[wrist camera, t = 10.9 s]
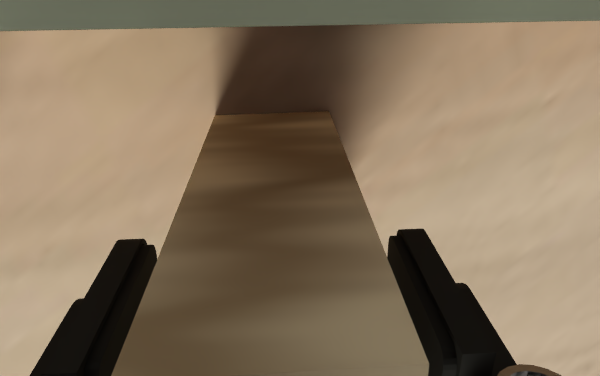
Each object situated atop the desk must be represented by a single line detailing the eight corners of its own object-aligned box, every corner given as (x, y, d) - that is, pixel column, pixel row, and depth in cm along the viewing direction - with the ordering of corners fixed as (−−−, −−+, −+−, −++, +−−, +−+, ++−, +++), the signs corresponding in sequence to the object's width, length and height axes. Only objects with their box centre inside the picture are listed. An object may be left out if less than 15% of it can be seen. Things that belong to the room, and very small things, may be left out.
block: (328, 111, 17) (429, 363, 6) (328, 211, 19) (407, 552, 8) (214, 115, 17) (108, 382, 6) (225, 216, 18) (156, 571, 8)
